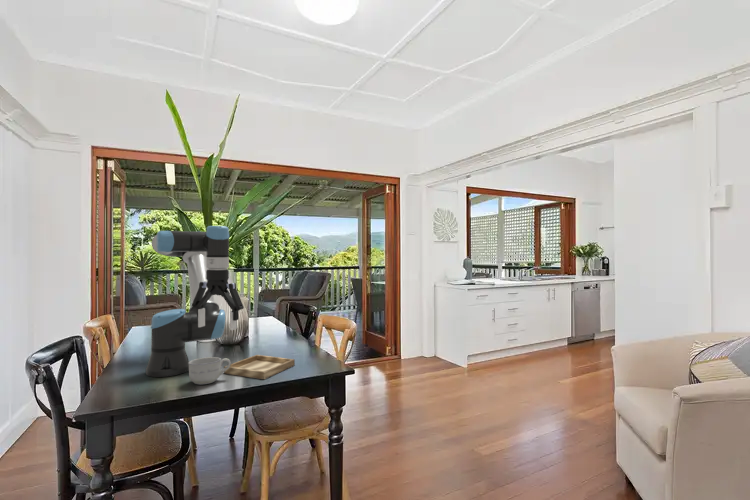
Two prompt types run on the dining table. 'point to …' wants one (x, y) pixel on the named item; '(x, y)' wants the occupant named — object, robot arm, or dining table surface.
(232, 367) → the serving tray
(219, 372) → the teacup
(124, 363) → the dining table surface
